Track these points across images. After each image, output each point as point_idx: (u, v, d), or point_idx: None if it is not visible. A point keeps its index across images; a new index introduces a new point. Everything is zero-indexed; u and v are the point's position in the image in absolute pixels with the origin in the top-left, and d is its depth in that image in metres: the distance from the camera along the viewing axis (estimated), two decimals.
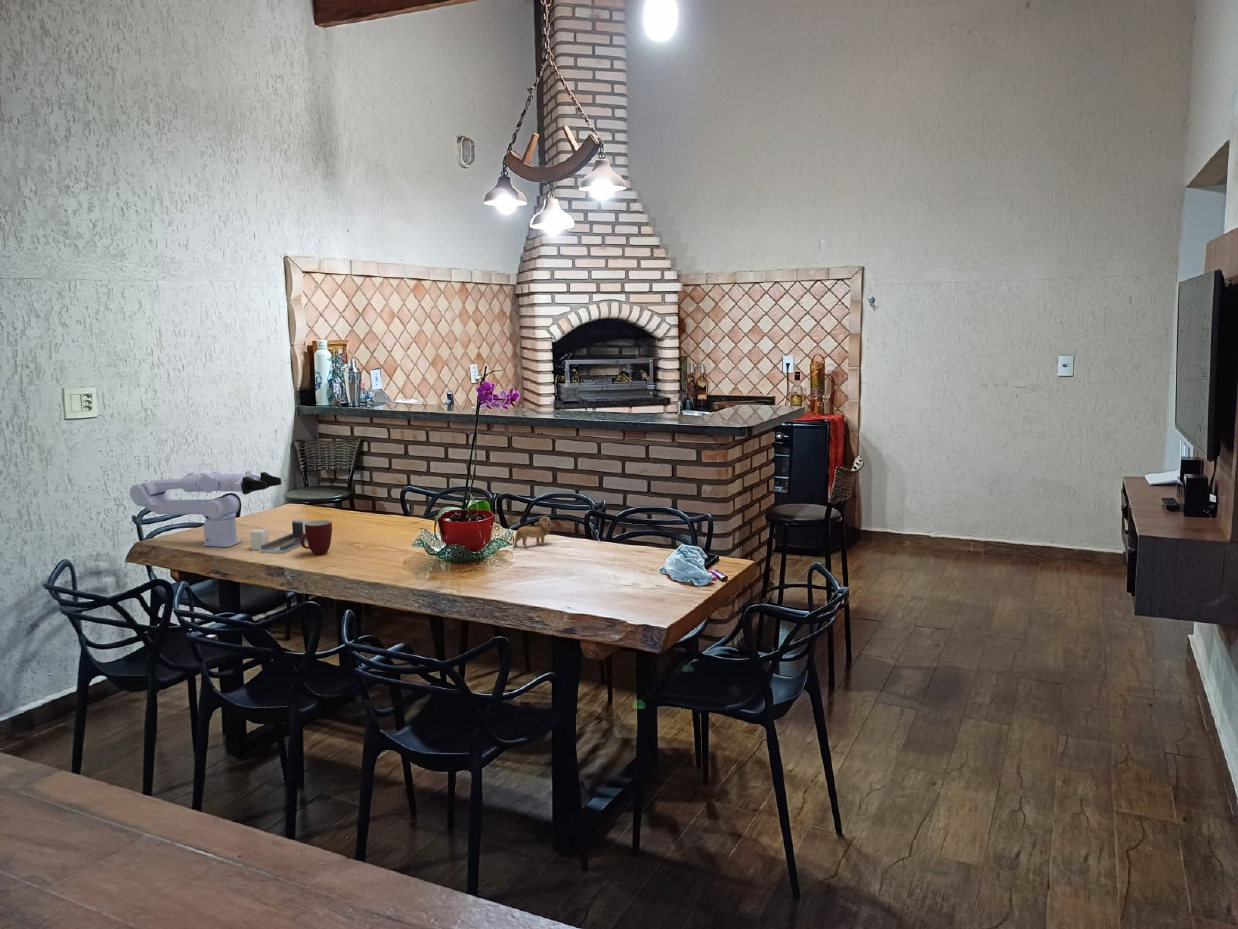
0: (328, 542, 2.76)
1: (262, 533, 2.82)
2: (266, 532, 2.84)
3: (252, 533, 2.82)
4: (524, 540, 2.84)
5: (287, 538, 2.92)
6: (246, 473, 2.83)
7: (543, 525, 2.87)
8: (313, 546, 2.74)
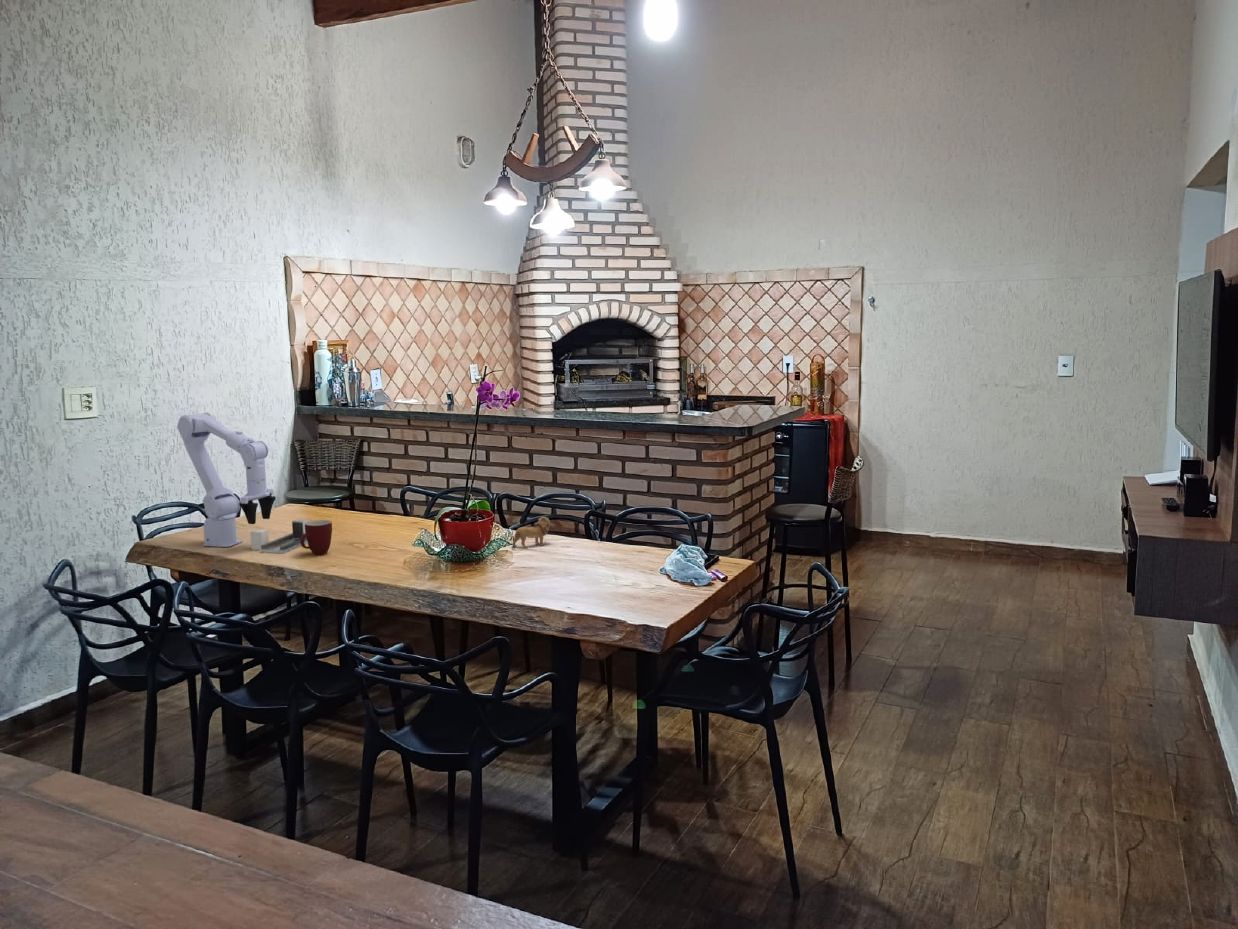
0: (328, 542, 2.76)
1: (262, 533, 2.82)
2: (266, 532, 2.84)
3: (252, 533, 2.82)
4: (523, 540, 2.84)
5: (287, 538, 2.92)
6: (264, 495, 2.80)
7: (541, 525, 2.87)
8: (313, 546, 2.74)
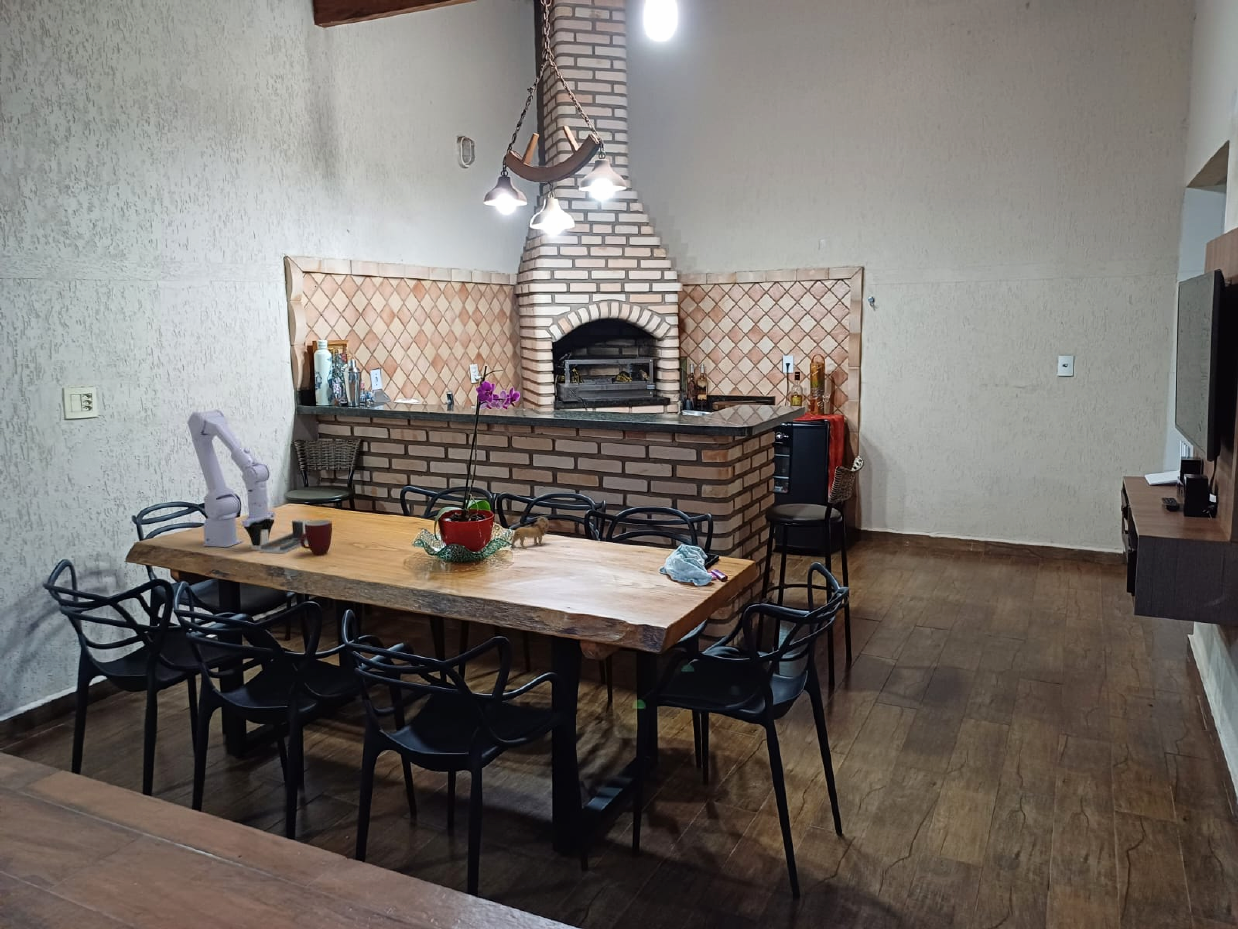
0: (328, 542, 2.76)
1: (262, 533, 2.82)
2: (266, 532, 2.84)
3: None
4: (522, 540, 2.84)
5: (287, 538, 2.92)
6: (266, 518, 2.81)
7: (540, 525, 2.86)
8: (313, 546, 2.74)
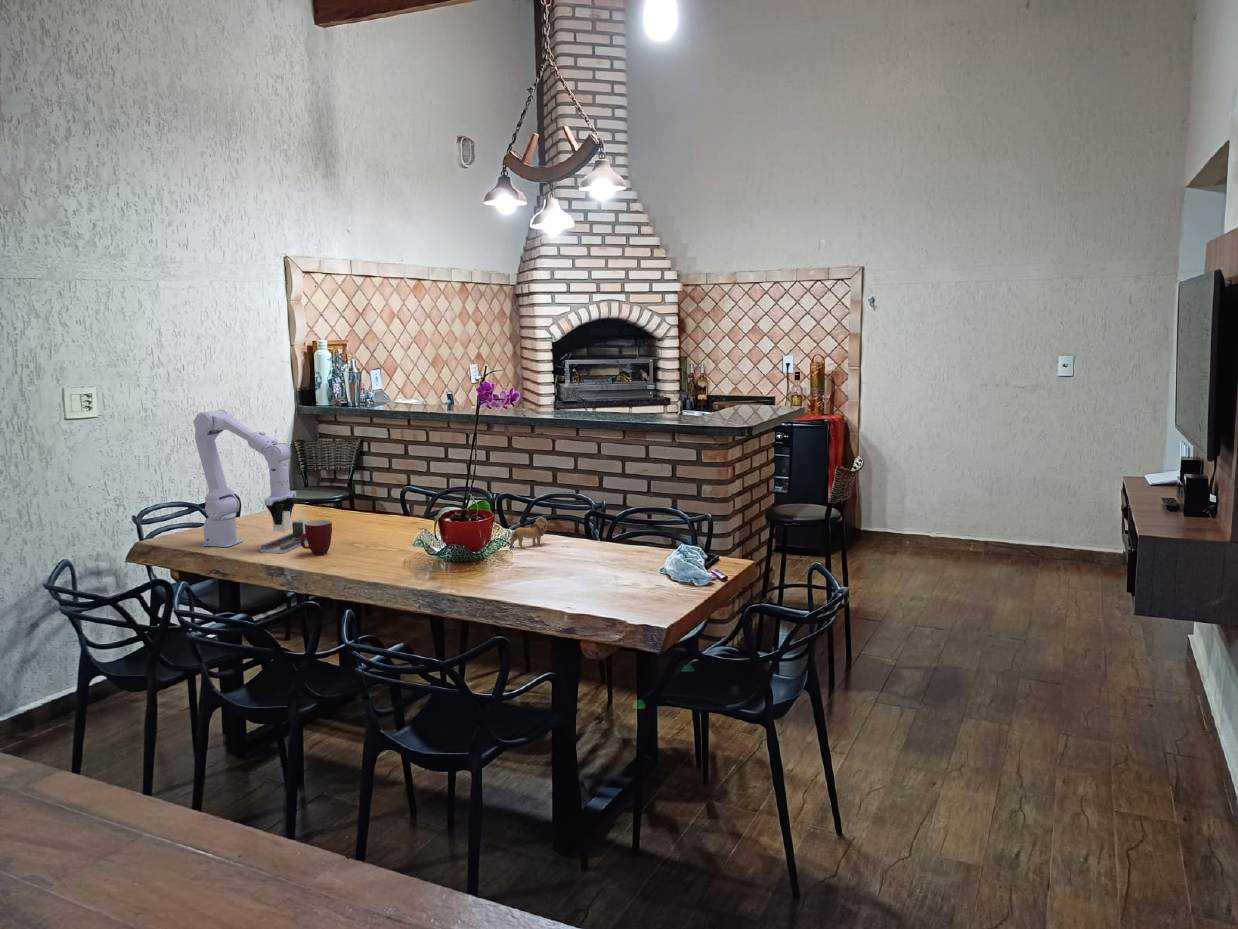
0: (328, 542, 2.76)
1: (284, 515, 2.81)
2: (288, 513, 2.84)
3: None
4: (520, 541, 2.83)
5: (287, 538, 2.92)
6: (288, 497, 2.81)
7: (539, 525, 2.86)
8: (313, 546, 2.74)
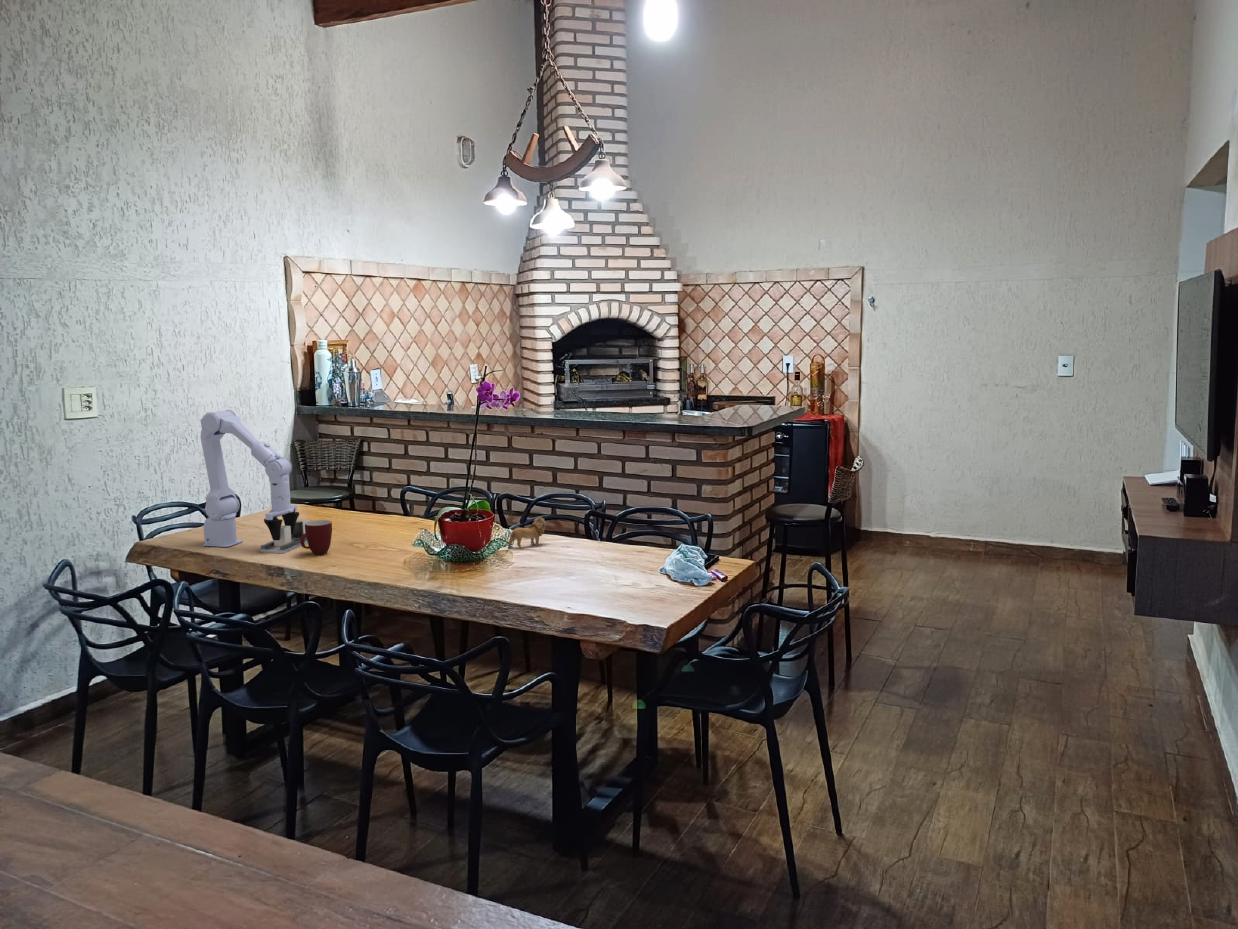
0: (328, 542, 2.76)
1: (284, 529, 2.82)
2: (289, 528, 2.84)
3: None
4: (519, 541, 2.83)
5: None
6: (288, 511, 2.82)
7: (537, 525, 2.86)
8: (313, 546, 2.74)
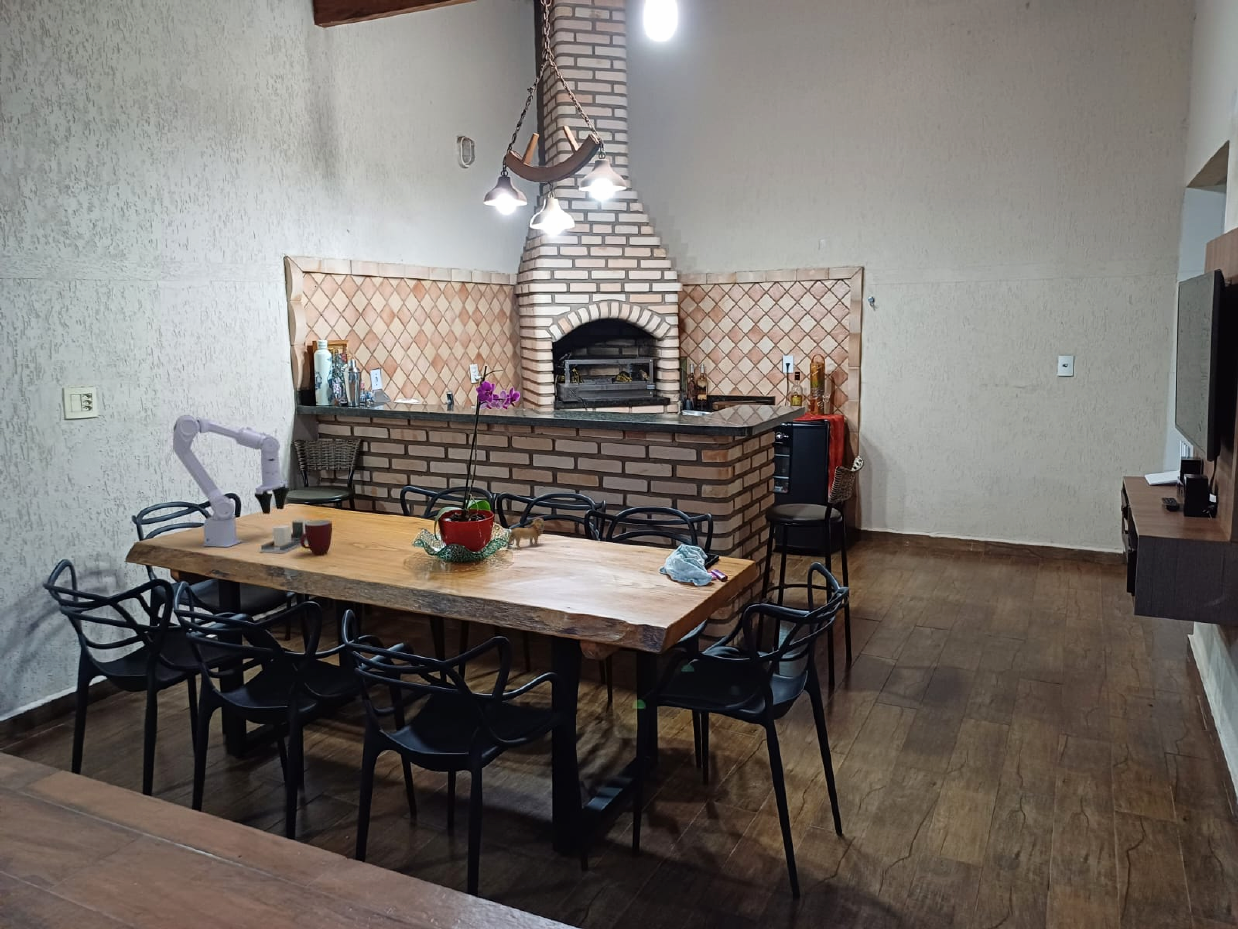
0: (328, 542, 2.76)
1: (284, 529, 2.82)
2: (289, 528, 2.84)
3: (275, 529, 2.82)
4: (518, 541, 2.83)
5: None
6: (278, 486, 2.93)
7: (536, 525, 2.86)
8: (313, 546, 2.74)
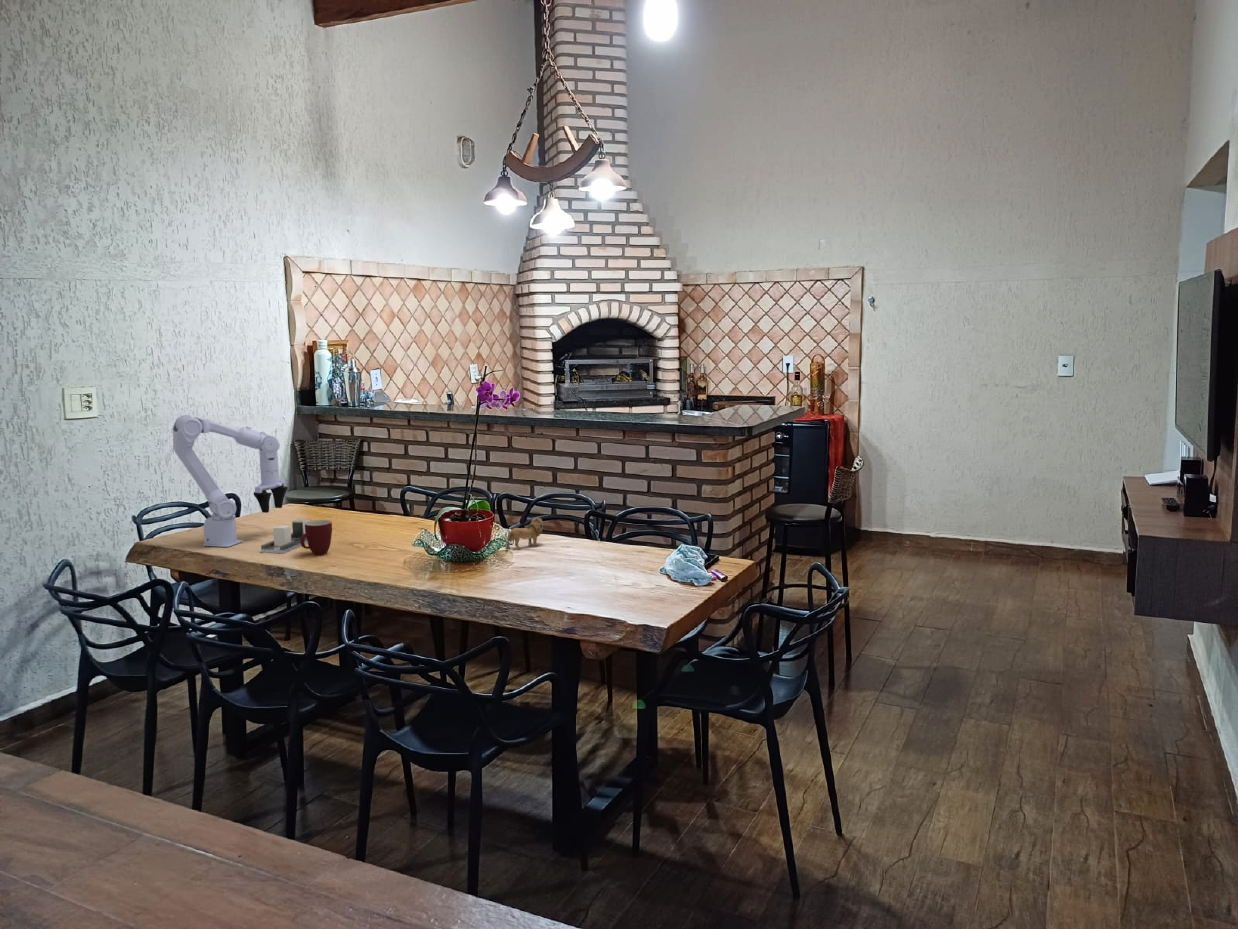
0: (328, 542, 2.76)
1: (284, 529, 2.82)
2: (289, 528, 2.84)
3: (275, 529, 2.82)
4: (517, 541, 2.82)
5: None
6: (277, 485, 2.95)
7: (535, 526, 2.85)
8: (313, 546, 2.74)
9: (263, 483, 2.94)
